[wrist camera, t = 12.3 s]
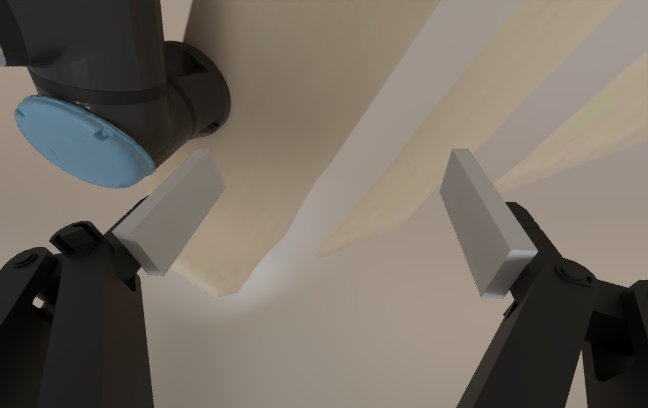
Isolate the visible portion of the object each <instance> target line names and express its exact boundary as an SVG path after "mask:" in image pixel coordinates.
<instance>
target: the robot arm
mask: <svg viewBox="0 0 648 408" xmlns="http://www.w3.org/2000/svg"><path fill="white" fill-rule="evenodd" d="M161 15H162V14H161V5H160V0H0V66H4V67H5V66H27V68H28V71H29V73H30V75H31V77H32V80H33V82H34V85H35V86H36V89H37V92H38V95H31V96H28V97H26V98H24V99H23V101H22V102H21V103H20V104H19V105H18V108H17V109H16V110H15V119H16V122H17V125H18V127H19V129H20V131H21V132H22V134H23V135H24V137H25V138H26V139H27V140H28V142H29V143H30V144H31V145H32V146H33V147H34V148H35V149H36V150H37V151H38V152H40V153H41V154H42V155H43V156H44V157H45V158H47V159H48V160H49V161H50V162H52V163H53V164H55V165H56V166H58V167H60V168H61V169H62V170H64V171H66V172H67V173H69V174H71V175H73V176H75V177H77V178H79V179H81V180H83V181H86V182H89V183H92V184H95V185H98V186H102V187H107V188H126V187H130V186H132V185H134V184H136V183H137V182H139V181H140V180H141V179H143V178H144V177H146V176H148V175H151V174H152V173H153V172H154V170H155V169H157V168H158V167H159V166H160V165H161V164H162V163H163V162H164V161H166V160H167V159H168V158H169V157H170V156H171V155H172V154H173V153H175V152H176V151H177V150H178V149H179V148H180V147H181V146H182V145H184V144H185V143H186V142H187V141H188V140H190V139H195V138H199V137H204V136H208V135H210V134H212V133H214V132H215V131H217V130H218V129H219V128H220V127H221V126H222V125H223V124H224V123H225V121H226V120H227V118H228V115H229V112H230V95H229V91H228V87H227V85H226V82H225V80H224V78H223V76H222V75H221V73H220V71H219V70H218V69H217V67H216V66H215V65H214V64H213V62H212V61H211V60H210V59H209V58H208V57H207V56H205V55H204V54H203V53H202V52H200V51H199V50H197V49H196V48H194V47H192V46H190V45H188V44H185V43H182V42H178V41H164V35H163V24H162V16H161ZM224 189H225V185H224V183H223V180H222V177H221V175H220V172H219V169H218V167H217V164H216V161H215V159H214V156H213V154H212V151H211V149H197V150H196V151H195V152H194V153H193V154H192V155H191V156H190V157H189V158H188V159H187V160H186V161H185V162H184V163H183V164H182V165H181V166H180V167H179V168H178V169H177V170H175V171H174V172H173V173H172V174H171V175H170V176H169V177H168V178H167V179H166V180H165V181H164V182H163V183H162V184H161V185H160V186H159V187H158V188H157V189H156V190H155V191H154V192H153V193H151V194H150V195H148V196H147V197H145V198H144V199H142V200H140V201H139V202H138V203H137V204H136V205H135V206H134V207H133V209H131V210H130V211H128V212H127V213H126V215H124V216H123V217H122V218H121V219H120V220H119V221H118V222H117V223H116V224H115V225H114V226H113V227H111V228H110V230H108V231H107V232H106V233H105V234H104V235H102V234H101V233H100V231H99V230H98V229H97V228H96V227H95V226H94V225H93V224H92V222H89V221H80V222H76V223H72V224H70V225H68V226H66V227H64V228H62V229H60V230H59V231H57V232H56V233H55V234H54V235H53V236H52V237H51V238H50V240H49V242H51V243H52V244H53V245H54V246H55V247H56V248H57V249H58V250H59V251H60V252H62V253H60V254H55V255H54V254H52V253H51V252H50V251H49V250H48V249H47V248H45V247H36V248H32V249H29V250H25V251H23V252H22V253H19V254H17V255H16V256H15V257H13V258H12V259H10V260H9V261H8V262H7V263H6V264H5V265H4V266H3V267H2V269H1V270H0V408H154V404H153V395H152V386H151V376H150V366H149V357H148V349H147V348H148V347H147V338H146V329H145V320H144V310H143V301H142V291H141V282H140V277H139V275H138V274H137V271H138V270H139V269H140V268H141V267H142V268H143V269H144V270H145V272H146V273H147V274H148V275H157V276H164V275H165V274H166V272H167V271H168V269H169V268H170V267H171V265H172V264H173V262H174V261H175V259H176V258H177V257H178V255H179V254H180V252H181V251H182V249H183V248H184V246H185V245H186V244H187V242H188V241H189V239H190V238H191V236H192V235H193V234H194V232H195V231H196V229H197V228H198V226H199V225H200V223H201V222H202V221H203V219H204V218H205V216H206V215H207V213H208V212H209V211H210V209H211V208H212V206H213V205H214V203H215V202H216V200H217V199H218V198H219V196H220V195H221V193H222V192H223V190H224ZM440 194H441V197H442V199H443V202H444V204H445V207H446V209H447V212H448V215H449V217H450V220H451V222H452V225H453V227H454V230H455V232H456V235H457V238H458V240H459V243H460V245H461V248H462V250H463V253H464V255H465V258H466V260H467V263H468V265H469V268H470V271H471V273H472V276H473V278H474V281H475V283H476V286H477V288H478V291H479V294H480V296H481V298H494V299H503V298H504V297H505V295H506V294H507V292H508V291H509V290H510V291H511V293H512V296H513V298H514V301H513V303H512V304H511V305H510V307H509V308H508V309H507V310H506V312H505V313H504V314H503V315H504V316H505V317H504V319H503V321H502V323H501V325H500V326H499V328H498V330H497V332H496V334H495V336H494V338H493V340H492V341H491V343H490V345H489V347H488V349H487V351H486V353H485V355H484V356H483V358H482V360H481V362H480V364H479V366H478V368H477V370H476V372H475V373H474V375H473V377H472V379H471V381H470V383H469V385H468V387H467V388H466V390H465V392H464V394H463V396H462V398H461V400H460V401H459V403H458V405H457V407H456V408H565V405H566V402H567V398H568V395H569V391H570V388H571V384H572V380H573V377H574V373H575V370H576V366H577V363H578V359H579V356H580V352H581V349H582V357H583V366H584V376H585V385H586V396H587V405H588V408H648V280H639V281H637V282H636V283H634V284H633V285H632V286H630V287H629V288H627V287H623V286H620V285H615V284H612V283H609V282H605V281H601V280H598V279H596V277H595V276H594V275H593V273H591V272H590V271H589V270H588V269H587V268H585V267H584V266H582V265H580V264H579V263H577V262H575V261H572V260H568V259H565V258H563V257H562V256H561V254H560V253H559V252H558V250H557V249H556V248H555V246H554V245H553V244H552V243H551V241H550V240H549V239H548V237H547V236H546V235H545V233H544V232H543V231H542V230H540V227H539V225H538V224H537V223H536V222H534V219H533V218H532V216H531V215H530V214H529V212H528V211H527V210H526V209H524V208H523V207H522V206H520V205H519V204H517V203H516V202H504V200H503V199H502V197H501V196H500V194H499V193H498V191H497V190H496V189H495V187H494V186H493V184H492V183H491V181H490V180H489V178H488V177H487V175H486V174H485V172H484V171H483V170H482V168H481V167H480V165H479V164H478V162H477V161H476V159H475V158H474V157H473V155H472V153H471V152H470V151H469V149H452V151H451V155H450V158H449V162H448V165H447V168H446V172H445V175H444V179H443V182H442V186H441V189H440ZM35 297H38V298H39V299H40V300H42V301H44V303H43V305H42V307H41V308H37V307H36V306H34V305H33V304H32V303H33V300H34V298H35Z"/></svg>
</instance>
